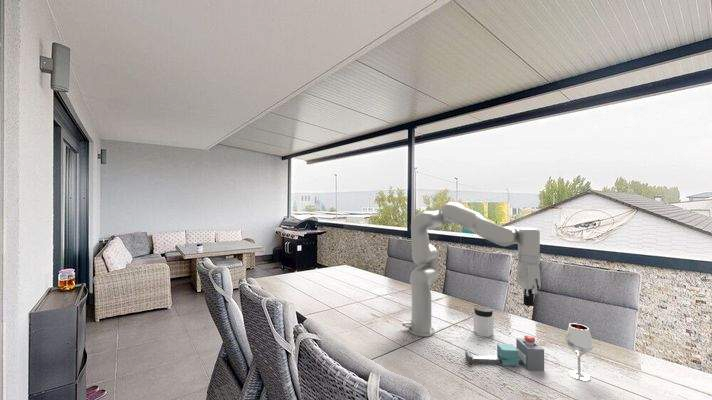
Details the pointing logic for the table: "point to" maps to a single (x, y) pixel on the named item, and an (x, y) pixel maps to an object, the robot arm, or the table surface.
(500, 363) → the rail
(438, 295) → the table surface
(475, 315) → the jar
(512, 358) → the carriage
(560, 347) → the table surface
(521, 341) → the housing
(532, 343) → the plunger
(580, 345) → the wineglass
